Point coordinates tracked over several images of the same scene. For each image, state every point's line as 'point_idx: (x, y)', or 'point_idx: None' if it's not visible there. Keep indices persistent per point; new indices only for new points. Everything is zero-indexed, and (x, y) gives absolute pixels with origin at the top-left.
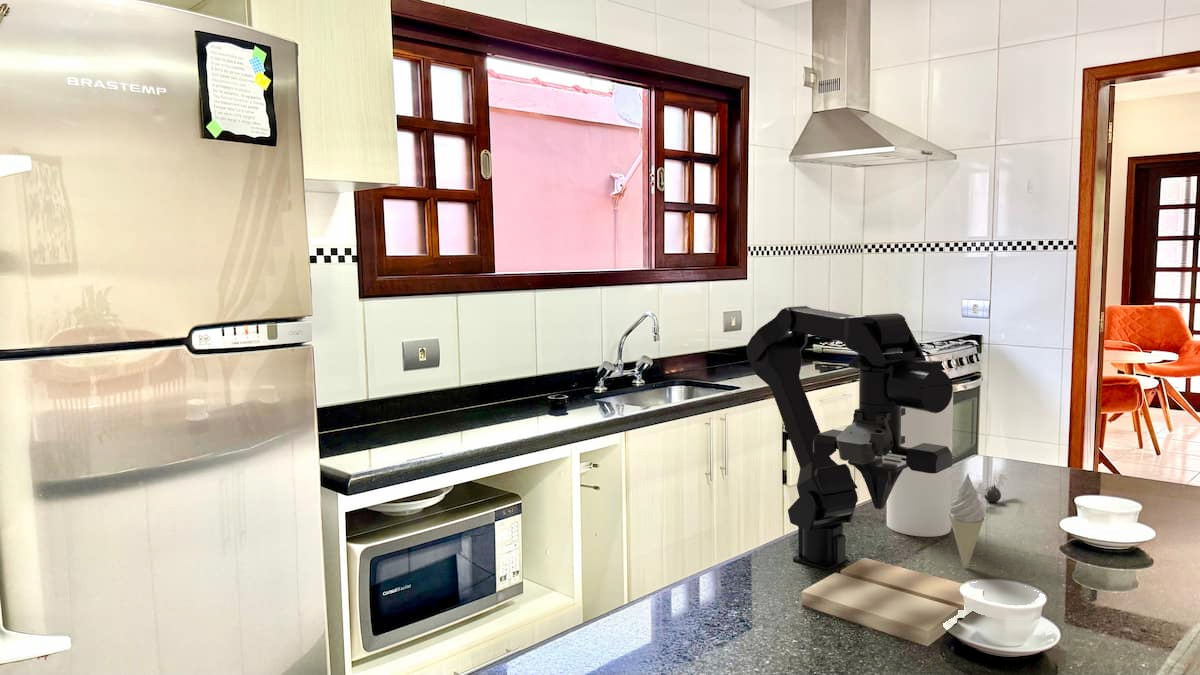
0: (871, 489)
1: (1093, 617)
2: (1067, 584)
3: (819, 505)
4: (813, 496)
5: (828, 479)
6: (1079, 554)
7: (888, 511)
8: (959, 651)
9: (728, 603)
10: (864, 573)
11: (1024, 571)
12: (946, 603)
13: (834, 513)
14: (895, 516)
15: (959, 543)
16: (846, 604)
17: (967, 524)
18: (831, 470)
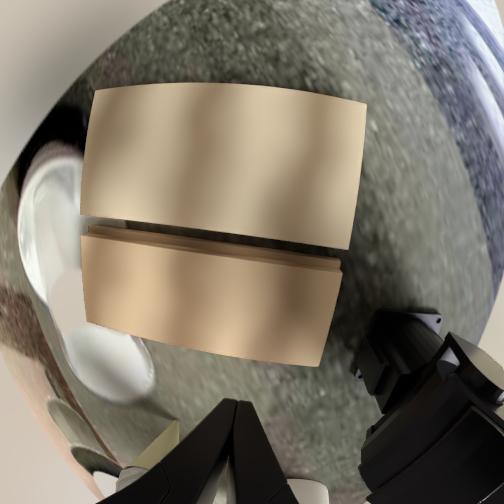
0: (255, 469)
1: (25, 326)
2: (77, 405)
3: (463, 379)
4: (492, 386)
5: (468, 468)
6: (116, 469)
7: (324, 501)
8: (76, 118)
9: (449, 71)
10: (289, 286)
11: (122, 428)
12: (107, 237)
13: (411, 397)
14: (311, 496)
15: (168, 444)
16: (254, 89)
17: (137, 464)
18: (463, 501)
